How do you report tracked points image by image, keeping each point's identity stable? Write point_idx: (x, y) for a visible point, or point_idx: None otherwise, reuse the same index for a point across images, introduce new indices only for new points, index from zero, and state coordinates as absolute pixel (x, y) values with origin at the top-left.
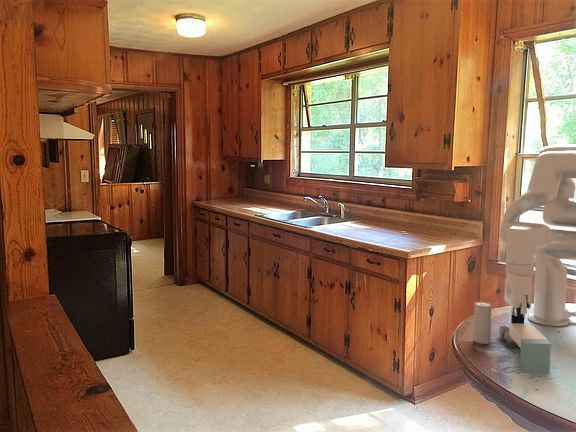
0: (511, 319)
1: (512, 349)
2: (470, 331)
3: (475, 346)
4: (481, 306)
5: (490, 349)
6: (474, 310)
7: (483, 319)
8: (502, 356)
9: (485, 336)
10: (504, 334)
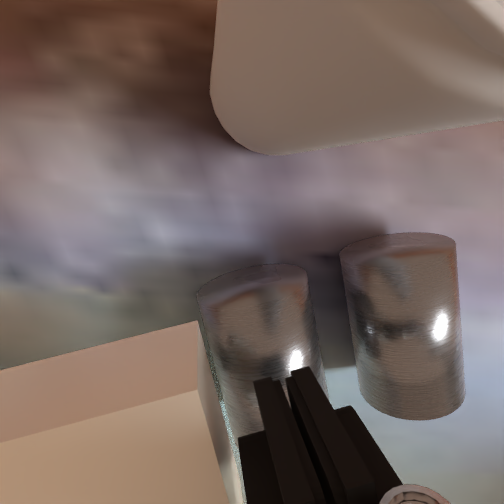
0: (330, 421)
1: (180, 302)
2: None
3: (151, 25)
4: None
5: (124, 148)
6: None
7: None
8: (7, 228)
9: (218, 100)
10: (345, 271)
